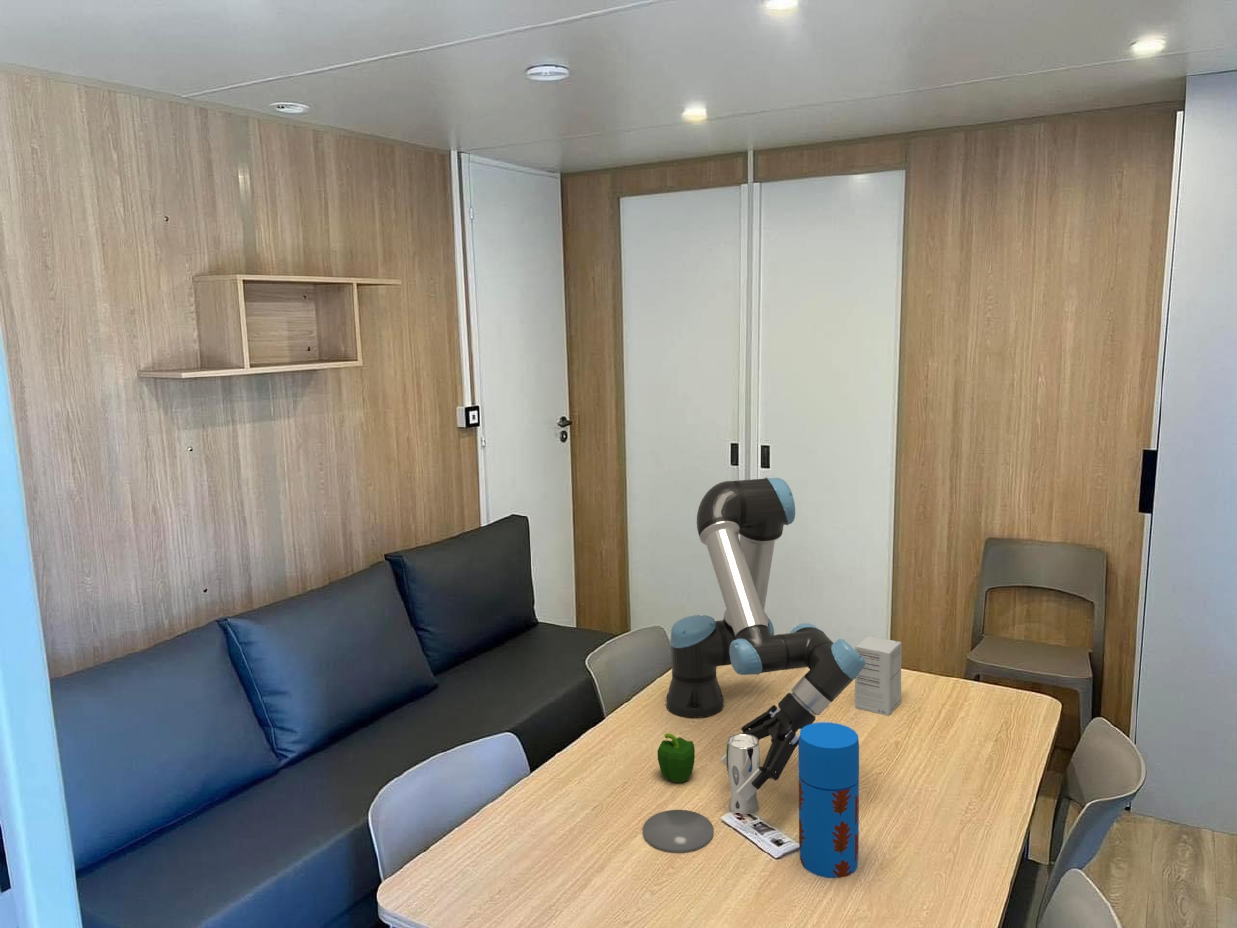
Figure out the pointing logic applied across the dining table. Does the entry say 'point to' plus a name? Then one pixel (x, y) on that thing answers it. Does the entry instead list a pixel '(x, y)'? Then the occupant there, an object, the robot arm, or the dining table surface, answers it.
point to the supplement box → (879, 676)
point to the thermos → (829, 799)
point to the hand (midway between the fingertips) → (733, 779)
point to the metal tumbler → (742, 770)
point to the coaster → (678, 831)
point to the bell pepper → (676, 758)
